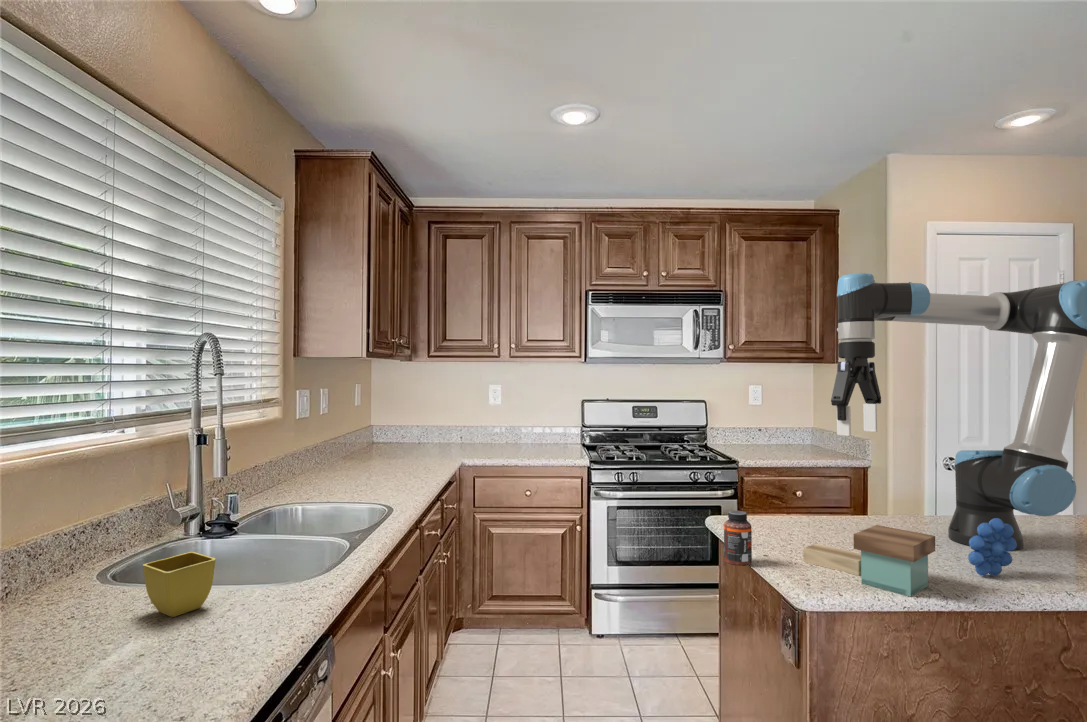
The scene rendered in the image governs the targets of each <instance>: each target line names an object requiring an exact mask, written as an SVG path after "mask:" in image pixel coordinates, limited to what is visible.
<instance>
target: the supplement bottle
mask: <svg viewBox="0 0 1087 722" xmlns="http://www.w3.org/2000/svg"><path fill="white" fill-rule="evenodd" d="M727 514H728V516H727V517H728V519H727V520H725V522H724V524H723V544H724V545H723V557H724V562H725V563H727V564H729V565H731V566H735V567H736V566H737V567H738V566H739V567H746V566H749V565H751V564H752V560H753V558H752V556H753V554H752V553H753V551H752V550H753V549H752V543H753V541H752V539H753V534H752V533H753V532H752V524H751V523H750V522H749V521H748V513H747V512H746V511H741V510H730V511H728V513H727Z"/></svg>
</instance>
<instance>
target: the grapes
mask: <svg viewBox="0 0 1087 722" xmlns="http://www.w3.org/2000/svg"><path fill="white" fill-rule="evenodd" d="M977 533H978V534H979V536H973V537H972V538H971V539H970V540H969V545H968V546H969V547H970V549H971V550H972V551H970V552H969V554H968V555H967V556H968V557H967V558H968V562H969V564H970V565H973V566H974V570H975V572H976V573H977V574H978V575H979V576H987V575H988V574H989V575H990V576H991V577H994V576H999V575H1000V574H1001V573H1002V572H1003V567H1008V566H1010V565H1011V563H1013V556H1012V554H1011V553H1010V552H1013V551H1015V550H1014V549H1015V548H1016V547H1017V543H1016V541H1015V539H1014V538H1012V537H1011V536H1012V535H1013V533H1014V530H1013V528H1012V526H1011V525H1009V524H1004V523H1003V521H1002V520H1001V519H999V518H994V519H992V520H990V521H989V523H982V524H980V525H979V526H978V527H977Z"/></svg>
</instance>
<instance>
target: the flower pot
mask: <svg viewBox="0 0 1087 722" xmlns="http://www.w3.org/2000/svg"><path fill="white" fill-rule="evenodd" d="M215 566H216V558H215V557H211V556H208V555H205V554H201V553H198V552H195V551H189V552H185V553H181V554H177V555H174V556H170V557H167V558H162V559H158V560H155V561H154V560H153V561H150V562H147V563H144V564H142V570H143V577H144V581H145V582H144V583H145V588H146V592H147V595H148V597H149V600H150V602H151V603H152V605H153V606H154V607H155V609H156V610H157V611H158V612H160V613H161V614H164V615H166V616H168V617H170V618H173V617H174V618H175V617H177V616H181V615H184V614H186V613H189V612H192V611H195V610H198V609H200V608H202V606H203V605H204V603H205V602H206V600H207V599H208V597H209V595H210V592H211V589H212V586H213V584H214V583H213V581H214V575H215V568H216V567H215Z"/></svg>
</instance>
